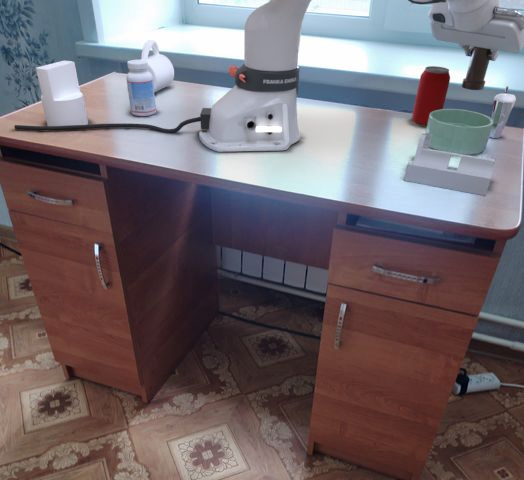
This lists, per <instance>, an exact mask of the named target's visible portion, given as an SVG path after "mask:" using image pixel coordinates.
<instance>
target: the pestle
mask: <svg viewBox="0 0 524 480" xmlns="http://www.w3.org/2000/svg"><path fill="white" fill-rule="evenodd" d="M490 50H491V49H486V48H481V47H475V46H474V48H473V52H472V55H471V57H470V60H469V64H468V67H467V71H466V75H465V78H463V79H462V83H461V88H463V89H465V90H470V91H482V90H484V88H485V85H486V80H485V77H486V74H487V71H488V67H489V63H490V60H488V56H487V55H488V53H489V52H490Z"/></svg>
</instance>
